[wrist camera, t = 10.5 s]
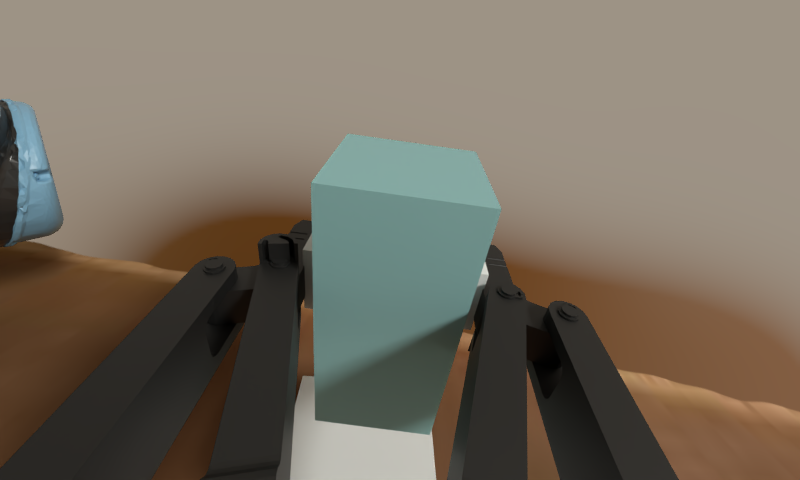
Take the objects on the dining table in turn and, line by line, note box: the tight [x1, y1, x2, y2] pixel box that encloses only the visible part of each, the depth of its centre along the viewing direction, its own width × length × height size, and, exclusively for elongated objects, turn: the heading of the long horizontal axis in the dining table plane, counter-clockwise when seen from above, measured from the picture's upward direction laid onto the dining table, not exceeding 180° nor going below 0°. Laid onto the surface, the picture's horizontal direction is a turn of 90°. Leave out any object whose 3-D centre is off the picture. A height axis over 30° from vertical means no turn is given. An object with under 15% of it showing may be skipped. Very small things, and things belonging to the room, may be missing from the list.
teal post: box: [311, 134, 501, 435], centre depth 14 cm, size 5×5×11 cm
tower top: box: [290, 376, 436, 480], centre depth 22 cm, size 9×9×5 cm
